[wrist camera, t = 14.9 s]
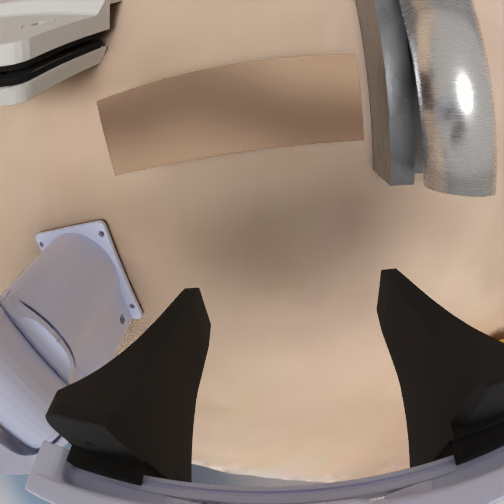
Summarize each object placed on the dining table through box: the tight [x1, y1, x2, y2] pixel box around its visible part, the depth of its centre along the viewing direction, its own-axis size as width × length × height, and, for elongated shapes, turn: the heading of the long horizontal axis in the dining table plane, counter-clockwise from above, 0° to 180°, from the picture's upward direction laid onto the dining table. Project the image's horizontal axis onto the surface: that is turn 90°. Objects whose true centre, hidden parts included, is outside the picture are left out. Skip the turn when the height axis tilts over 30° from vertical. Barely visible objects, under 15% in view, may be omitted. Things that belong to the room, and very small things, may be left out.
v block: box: [356, 0, 423, 186], centre depth 13 cm, size 12×6×3 cm, turn 9°
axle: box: [399, 0, 497, 197], centre depth 10 cm, size 10×4×4 cm, turn 9°
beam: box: [97, 54, 364, 176], centre depth 15 cm, size 4×12×5 cm, turn 99°
